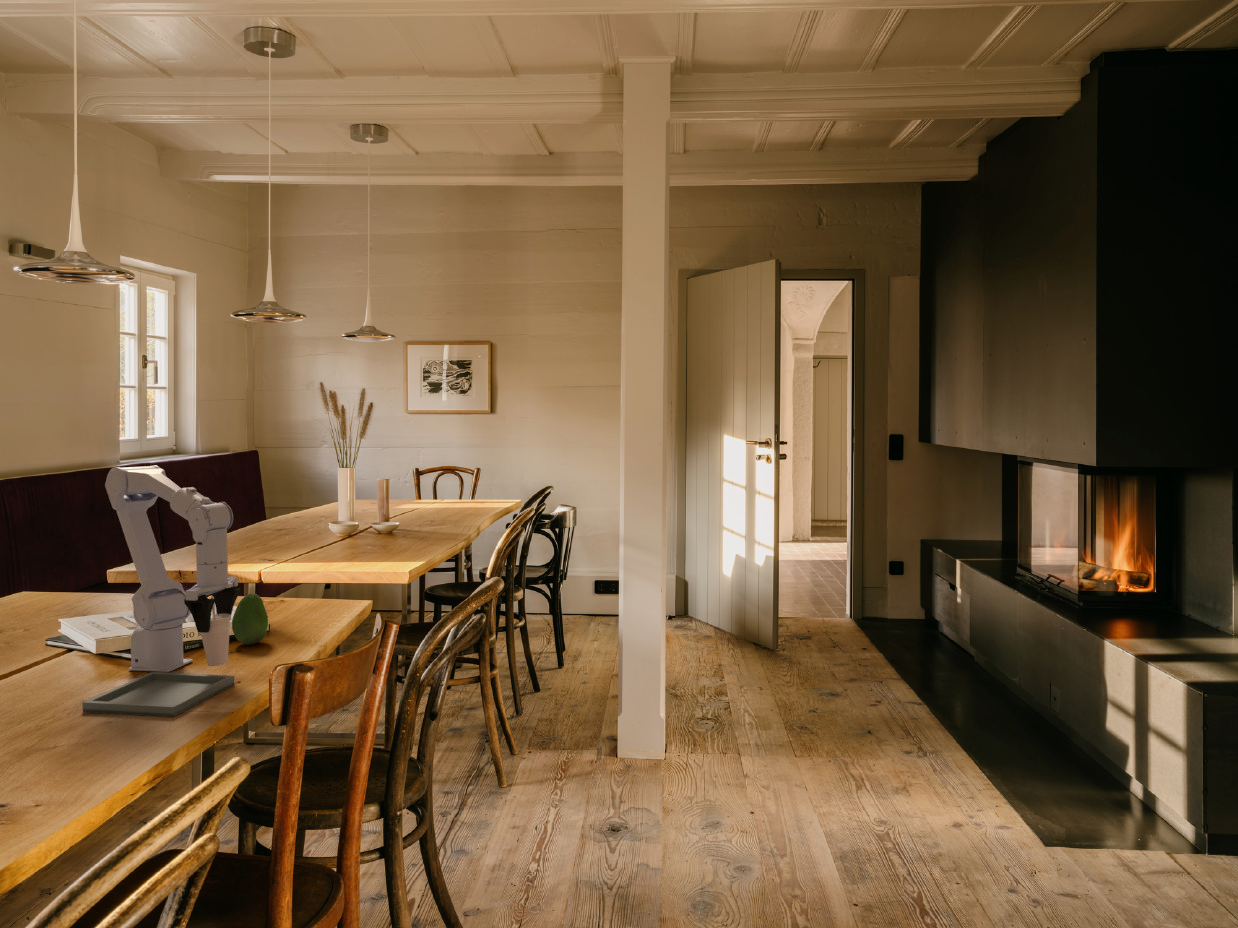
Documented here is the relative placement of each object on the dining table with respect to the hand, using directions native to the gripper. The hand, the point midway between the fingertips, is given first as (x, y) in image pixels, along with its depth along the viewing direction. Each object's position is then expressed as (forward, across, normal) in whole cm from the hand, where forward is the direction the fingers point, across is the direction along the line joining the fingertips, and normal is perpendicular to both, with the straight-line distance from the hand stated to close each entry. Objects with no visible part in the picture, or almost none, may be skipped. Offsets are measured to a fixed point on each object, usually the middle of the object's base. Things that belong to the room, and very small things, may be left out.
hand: (213, 627), depth 166 cm
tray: (+10, -13, +3) cm, 17 cm away
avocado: (+11, +24, +7) cm, 28 cm away
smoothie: (+8, 0, -1) cm, 8 cm away
